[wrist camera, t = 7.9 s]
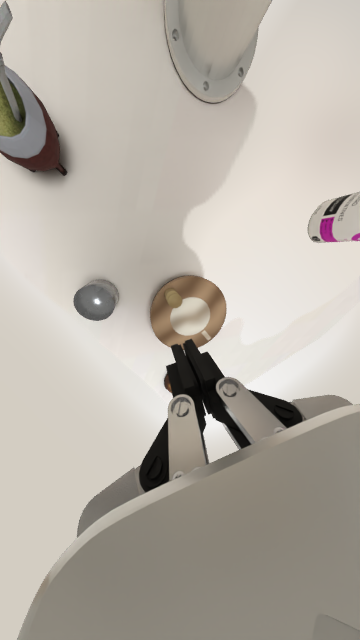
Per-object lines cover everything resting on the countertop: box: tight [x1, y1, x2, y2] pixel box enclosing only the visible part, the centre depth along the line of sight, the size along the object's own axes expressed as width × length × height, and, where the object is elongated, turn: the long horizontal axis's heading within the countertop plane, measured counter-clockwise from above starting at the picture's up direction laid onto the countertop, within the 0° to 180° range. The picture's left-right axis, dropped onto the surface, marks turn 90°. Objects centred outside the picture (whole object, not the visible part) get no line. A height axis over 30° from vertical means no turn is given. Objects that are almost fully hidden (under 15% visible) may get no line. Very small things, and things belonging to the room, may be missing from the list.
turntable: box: [150, 276, 226, 350], centre depth 31 cm, size 17×17×7 cm
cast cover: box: [74, 280, 119, 321], centre depth 27 cm, size 6×6×6 cm
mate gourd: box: [0, 1, 67, 176], centre depth 14 cm, size 8×8×15 cm
